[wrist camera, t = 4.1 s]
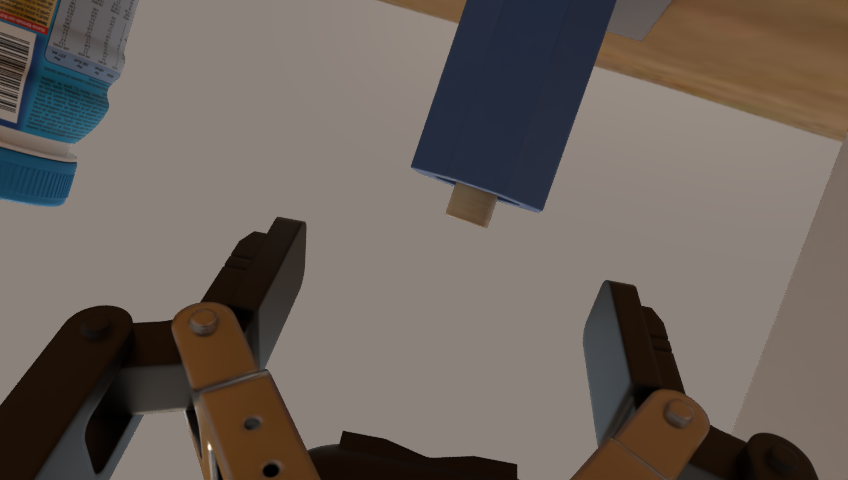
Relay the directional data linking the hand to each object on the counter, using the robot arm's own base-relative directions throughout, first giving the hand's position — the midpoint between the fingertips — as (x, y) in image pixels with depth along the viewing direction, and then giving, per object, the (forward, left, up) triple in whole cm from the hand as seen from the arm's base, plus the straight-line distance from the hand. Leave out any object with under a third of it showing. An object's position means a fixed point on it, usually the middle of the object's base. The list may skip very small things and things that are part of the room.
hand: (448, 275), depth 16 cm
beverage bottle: (-28, -18, -14) cm, 36 cm away
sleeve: (0, -8, -13) cm, 15 cm away
